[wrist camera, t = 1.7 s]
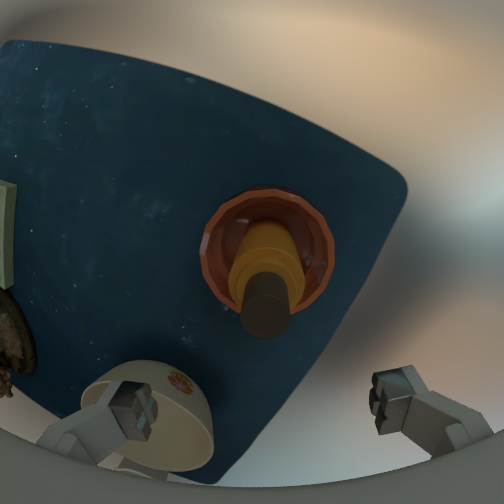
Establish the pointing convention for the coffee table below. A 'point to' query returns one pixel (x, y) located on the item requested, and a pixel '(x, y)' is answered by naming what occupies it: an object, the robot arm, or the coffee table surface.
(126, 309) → the coffee table surface
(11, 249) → the tray
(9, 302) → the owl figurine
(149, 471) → the dixie cup
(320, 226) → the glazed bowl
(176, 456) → the bowl
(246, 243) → the bottle
